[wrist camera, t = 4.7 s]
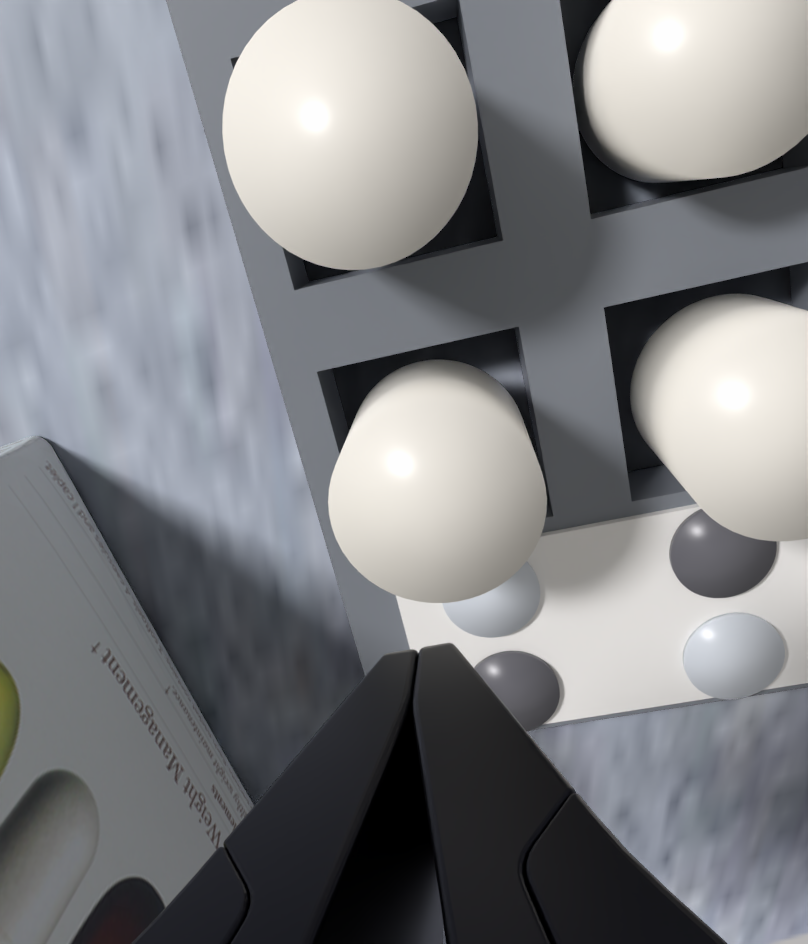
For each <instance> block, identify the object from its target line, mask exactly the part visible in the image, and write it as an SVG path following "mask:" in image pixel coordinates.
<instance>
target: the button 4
mask: <svg viewBox="0 0 808 944" xmlns="http://www.w3.org/2000/svg"><path fill="white" fill-rule="evenodd" d="M630 402H631V410H632V414H633V418H634V421H635V424H636V427H637V429H638V431H639V432H640V434H641V436H642V438H643V439H644V440H645V442H646V443H647V444H648V446H649V447H650V448H651V449H652V450H653V452H654V453H655V454H656V455H657V456H658V458H659V459H660V460H661V461H662V462H663V464H664V465H665V466H666V467H667V468H668V470H669V471H670V472H671V473H672V474H673V476H674V477H675V478H676V479H677V480H678V481H679V483H680V484H681V485H682V486H683V487H684V489H685V490H686V491H687V492H688V493H689V495H690V496H691V497H692V498H693V499H694V501H695V502H696V503H697V504H698V505H699V507H700V508H701V509H702V510H703V511H704V512H705V513H706V514H707V515H708V516H709V517H710V518H712V519H713V520H715V521H716V522H717V523H719V524H720V525H722V526H723V527H725V528H727V529H729V530H731V531H733V532H735V533H738V534H741V535H743V536H746V537H750V538H754V539H759V540H766V541H794V540H803V539H807V538H808V311H807V310H804V309H800V308H797V307H794V306H790V305H787V304H784V303H780V302H777V301H774V300H770V299H767V298H763V297H759V296H755V295H749V294H724V295H717V296H713V297H709V298H706V299H702V300H700V301H697V302H695V303H693V304H690V305H688V306H687V307H685V308H683V309H681V310H680V311H678V312H677V313H675V314H674V315H673V316H671V317H670V318H669V319H667V320H666V321H665V322H664V323H663V324H662V325H661V326H660V327H659V328H658V329H657V330H656V331H655V332H654V334H653V335H652V336H651V337H650V338H649V340H648V341H647V343H646V345H645V346H644V348H643V349H642V351H641V353H640V355H639V357H638V359H637V362H636V365H635V368H634V371H633V375H632V380H631V388H630Z"/></svg>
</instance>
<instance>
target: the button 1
mask: <svg viewBox="0 0 808 944" xmlns="http://www.w3.org/2000/svg"><path fill="white" fill-rule="evenodd" d="M222 135H223V144H224V153H225V157H226V162H227V166H228V170H229V173H230V176H231V179H232V181H233V184H234V187H235V189H236V191H237V193H238V195H239V197H240V199H241V201H242V203H243V204H244V206H245V208H246V209H247V211H248V212H249V214H250V215H251V217H252V218H253V219H254V220H255V222H256V223H257V224H258V225H259V226H260V228H261V229H262V230H263V231H264V232H265V233H266V234H267V235H268V236H270V237H271V238H272V239H273V240H274V241H275V242H276V243H278V244H279V245H280V246H282V247H283V248H285V249H286V250H287V251H289V252H291V253H293V254H294V255H296V256H298V257H300V258H302V259H304V260H307V261H309V262H312V263H314V264H317V265H321V266H325V267H329V268H334V269H343V270H365V269H371V268H377V267H381V266H385V265H388V264H391V263H394V262H397V261H399V260H401V259H403V258H405V257H407V256H409V255H411V254H413V253H414V252H416V251H417V250H419V249H420V248H422V247H423V246H425V245H426V244H427V243H428V242H429V241H430V240H432V239H433V238H434V237H435V236H436V235H437V234H438V233H439V232H440V231H441V230H442V229H443V227H444V226H445V225H446V224H447V223H448V222H449V220H450V219H451V217H452V216H453V214H454V213H455V211H456V210H457V208H458V206H459V205H460V203H461V201H462V199H463V197H464V195H465V193H466V190H467V188H468V185H469V182H470V180H471V177H472V173H473V169H474V165H475V160H476V153H477V145H478V120H477V112H476V104H475V100H474V96H473V92H472V88H471V85H470V82H469V79H468V77H467V74H466V72H465V69H464V67H463V65H462V63H461V61H460V60H459V58H458V56H457V54H456V52H455V51H454V49H453V48H452V46H451V45H450V44H449V42H448V41H447V39H446V38H445V37H444V36H443V34H442V33H441V32H440V31H439V30H438V29H437V28H436V27H435V26H434V25H433V24H432V23H431V22H430V21H429V20H427V19H426V18H425V17H424V16H423V15H421V14H420V13H419V12H418V11H416V10H414V9H413V8H411V7H409V6H408V5H406V4H404V3H403V2H401V1H398V0H297V1H295V2H293V3H292V4H290V5H288V6H286V7H284V8H283V9H281V10H280V11H279V12H277V13H276V14H275V15H273V16H272V17H271V18H270V19H268V20H267V21H266V22H265V23H264V24H263V25H262V26H261V28H260V29H259V30H258V31H257V32H256V33H255V34H254V35H253V37H252V38H251V40H250V41H249V42H248V44H247V45H246V46H245V48H244V50H243V52H242V53H241V55H240V57H239V59H238V61H237V62H236V65H235V67H234V70H233V72H232V75H231V77H230V80H229V84H228V88H227V92H226V95H225V101H224V109H223V124H222Z"/></svg>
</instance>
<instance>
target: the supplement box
mask: <svg viewBox="0 0 808 944" xmlns="http://www.w3.org/2000/svg"><path fill="white" fill-rule="evenodd" d="M253 807H254V805H253V803H252V801H251V799H250V798H249V796H248V794H247V793H246V791H245V789H244V787H243V786H242V784H241V782H240V780H239V779H238V777H237V775H236V773H235V772H234V770H233V768H232V766H231V765H230V763H229V761H228V759H227V758H226V756H225V754H224V752H223V751H222V749H221V747H220V745H219V743H218V742H217V740H216V738H215V736H214V735H213V733H212V731H211V729H210V727H209V726H208V724H207V722H206V720H205V719H204V717H203V715H202V713H201V712H200V710H199V708H198V706H197V704H196V703H195V701H194V699H193V697H192V696H191V694H190V692H189V690H188V688H187V687H186V685H185V683H184V681H183V680H182V678H181V676H180V674H179V673H178V671H177V669H176V667H175V665H174V664H173V662H172V660H171V658H170V657H169V655H168V653H167V651H166V649H165V648H164V646H163V644H162V642H161V641H160V639H159V637H158V635H157V633H156V632H155V630H154V628H153V626H152V625H151V623H150V621H149V619H148V617H147V616H146V614H145V612H144V610H143V608H142V607H141V605H140V603H139V601H138V600H137V598H136V596H135V594H134V592H133V591H132V589H131V587H130V585H129V584H128V582H127V580H126V578H125V576H124V575H123V573H122V571H121V569H120V567H119V566H118V564H117V562H116V560H115V558H114V557H113V555H112V553H111V551H110V550H109V548H108V546H107V544H106V542H105V541H104V539H103V537H102V535H101V533H100V532H99V530H98V528H97V526H96V524H95V523H94V521H93V519H92V517H91V515H90V513H89V512H88V510H87V508H86V506H85V504H84V503H83V501H82V499H81V497H80V495H79V494H78V492H77V490H76V488H75V486H74V485H73V483H72V481H71V479H70V477H69V476H68V474H67V472H66V470H65V469H64V467H63V465H62V463H61V462H60V460H59V458H58V457H57V455H56V453H55V452H54V450H53V448H52V446H51V445H50V444H49V443H48V442H47V441H46V440H45V439H43V438H41V437H38V436H31V437H26V438H23V439H21V440H18V441H15V442H12V443H10V444H7V445H4V446H2V447H0V944H131V943H132V942H133V941H134V940H135V939H136V938H137V937H138V936H139V935H140V934H141V933H142V932H143V931H144V930H145V929H146V928H147V927H148V926H149V925H150V924H151V923H152V922H153V921H154V920H155V919H156V918H157V917H158V915H159V914H160V913H161V912H162V911H163V910H164V909H165V908H166V907H167V905H168V904H169V903H170V902H171V901H172V900H173V899H174V898H175V896H176V895H177V894H178V893H179V892H180V891H181V890H182V889H183V888H184V886H185V885H186V884H187V883H188V882H189V881H190V880H191V879H192V877H193V876H194V875H195V874H196V873H197V872H198V871H199V869H200V868H201V867H202V866H203V865H204V864H205V862H206V861H207V860H208V859H209V858H210V857H211V855H212V854H213V853H214V852H215V851H216V850H217V848H219V847H224V845H223V843H224V841H225V839H226V838H227V837H228V836H229V835H230V834H231V832H232V831H233V830H234V829H235V828H236V827H237V825H238V824H239V823H240V822H241V821H242V820H243V818H244V817H245V816H246V815H247V814H248V813H249V811H250V810H251V809H252V808H253Z"/></svg>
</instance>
